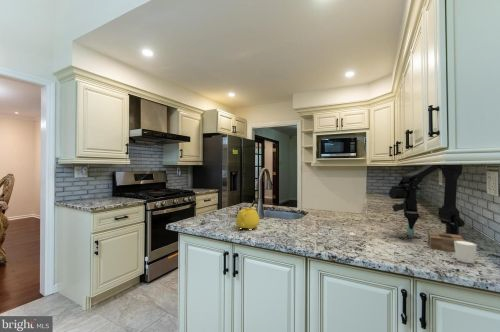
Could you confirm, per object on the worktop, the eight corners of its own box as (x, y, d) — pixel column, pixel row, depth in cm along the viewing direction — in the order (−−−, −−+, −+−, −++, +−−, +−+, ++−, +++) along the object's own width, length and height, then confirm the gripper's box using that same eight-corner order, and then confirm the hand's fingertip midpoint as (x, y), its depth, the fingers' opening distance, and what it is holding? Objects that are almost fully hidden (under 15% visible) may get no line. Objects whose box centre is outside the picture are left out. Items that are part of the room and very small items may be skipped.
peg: (407, 232, 128) (407, 215, 128) (414, 233, 127) (414, 215, 127) (407, 233, 126) (407, 216, 126) (414, 234, 124) (414, 216, 124)
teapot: (231, 230, 143) (231, 209, 143) (244, 223, 161) (244, 204, 161) (253, 233, 138) (253, 210, 138) (264, 225, 156) (264, 205, 156)
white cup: (469, 264, 92) (468, 246, 92) (449, 258, 98) (449, 241, 98) (481, 262, 94) (481, 244, 94) (461, 256, 100) (461, 239, 100)
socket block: (428, 241, 120) (428, 231, 120) (459, 245, 114) (459, 235, 114) (431, 248, 110) (431, 237, 110) (465, 253, 103) (465, 241, 103)
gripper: (393, 195, 138) (393, 223, 138) (392, 199, 122) (392, 230, 122) (416, 197, 133) (416, 225, 132) (419, 201, 117) (419, 233, 117)
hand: (410, 228), depth 126 cm, fingers closed on peg, 3 cm apart
